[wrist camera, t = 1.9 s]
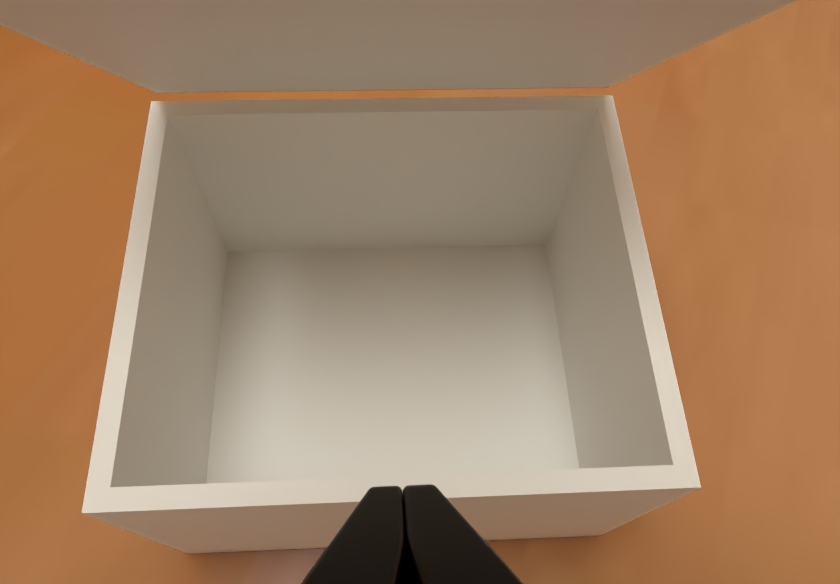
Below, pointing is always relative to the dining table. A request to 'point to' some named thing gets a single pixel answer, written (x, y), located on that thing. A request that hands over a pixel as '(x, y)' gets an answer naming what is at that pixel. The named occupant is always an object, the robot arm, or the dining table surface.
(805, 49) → the dining table surface
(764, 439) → the dining table surface
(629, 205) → the carton
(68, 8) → the carton flap
